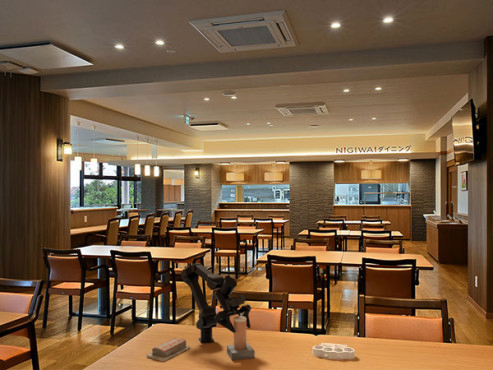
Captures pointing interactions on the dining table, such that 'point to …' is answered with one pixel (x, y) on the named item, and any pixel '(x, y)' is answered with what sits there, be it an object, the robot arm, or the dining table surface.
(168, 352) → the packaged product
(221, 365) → the dining table surface
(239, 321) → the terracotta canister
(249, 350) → the riser block
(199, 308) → the robot arm
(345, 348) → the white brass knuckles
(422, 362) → the dining table surface
